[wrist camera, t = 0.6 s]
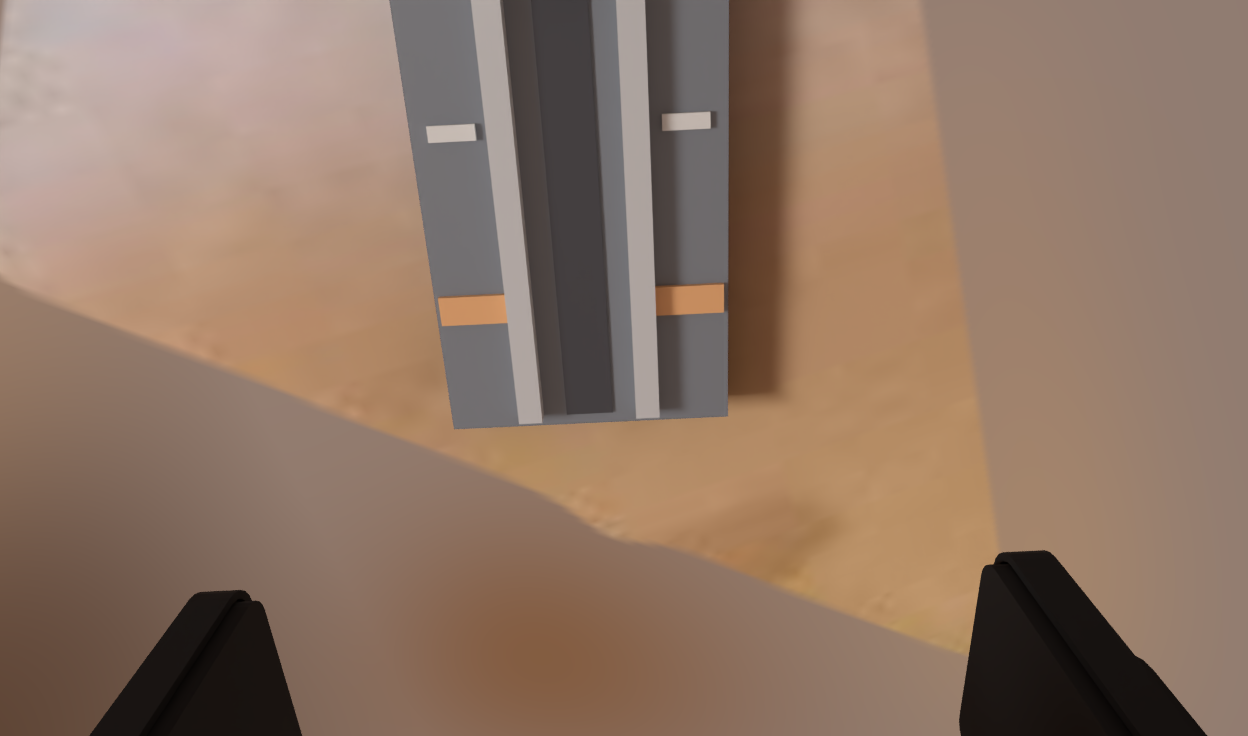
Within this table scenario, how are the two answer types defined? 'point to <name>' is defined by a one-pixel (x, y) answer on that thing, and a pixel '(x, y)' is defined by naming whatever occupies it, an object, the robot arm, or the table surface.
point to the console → (573, 203)
